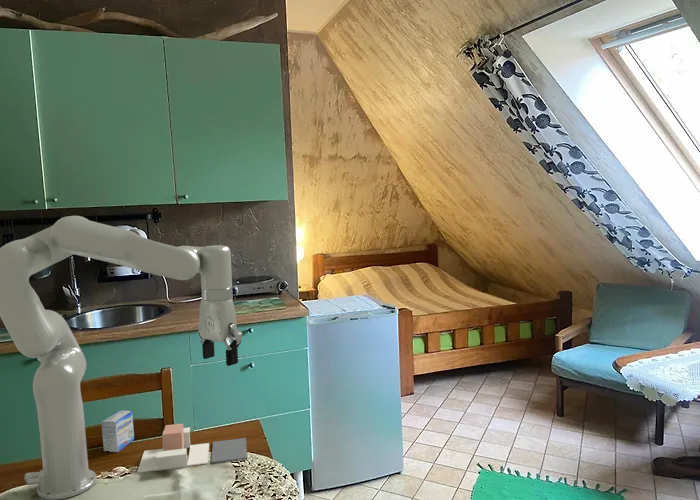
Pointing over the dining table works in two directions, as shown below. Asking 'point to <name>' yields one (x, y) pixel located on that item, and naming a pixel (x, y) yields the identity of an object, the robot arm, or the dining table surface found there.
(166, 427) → the box
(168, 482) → the dining table surface
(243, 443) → the mat
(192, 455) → the carton
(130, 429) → the medicine box
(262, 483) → the dining table surface
